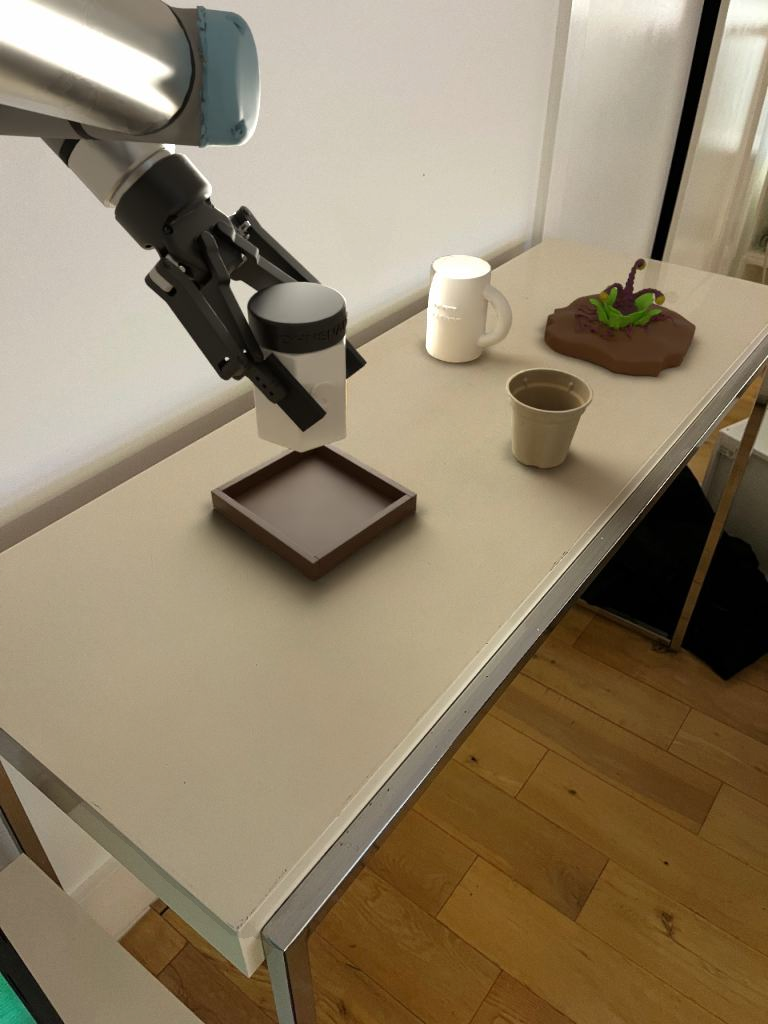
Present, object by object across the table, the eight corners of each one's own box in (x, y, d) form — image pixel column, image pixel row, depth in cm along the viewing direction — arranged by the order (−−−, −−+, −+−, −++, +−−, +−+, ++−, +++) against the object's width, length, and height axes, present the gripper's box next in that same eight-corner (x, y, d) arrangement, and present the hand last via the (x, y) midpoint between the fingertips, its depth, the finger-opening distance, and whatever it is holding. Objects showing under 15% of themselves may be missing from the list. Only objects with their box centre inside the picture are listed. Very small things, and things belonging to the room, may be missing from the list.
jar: (278, 463, 66) (268, 335, 59) (240, 417, 72) (225, 294, 64) (368, 433, 70) (369, 309, 62) (326, 392, 75) (322, 273, 68)
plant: (712, 336, 113) (735, 261, 106) (655, 388, 102) (677, 308, 94) (589, 297, 123) (602, 226, 116) (524, 341, 111) (535, 265, 104)
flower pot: (481, 455, 90) (488, 390, 84) (525, 421, 95) (535, 358, 90) (551, 488, 85) (564, 422, 79) (594, 451, 91) (609, 387, 85)
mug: (492, 377, 103) (503, 291, 96) (414, 353, 108) (418, 270, 100) (517, 352, 109) (529, 269, 101) (442, 330, 113) (448, 250, 106)
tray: (314, 581, 74) (313, 564, 72) (213, 508, 82) (210, 490, 80) (416, 511, 82) (417, 493, 80) (315, 450, 90) (314, 434, 88)
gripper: (191, 174, 71) (354, 361, 78) (36, 257, 56) (255, 482, 62) (236, 117, 67) (406, 322, 73) (81, 191, 51) (312, 442, 58)
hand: (336, 395), depth 68 cm, fingers closed on jar, 8 cm apart
